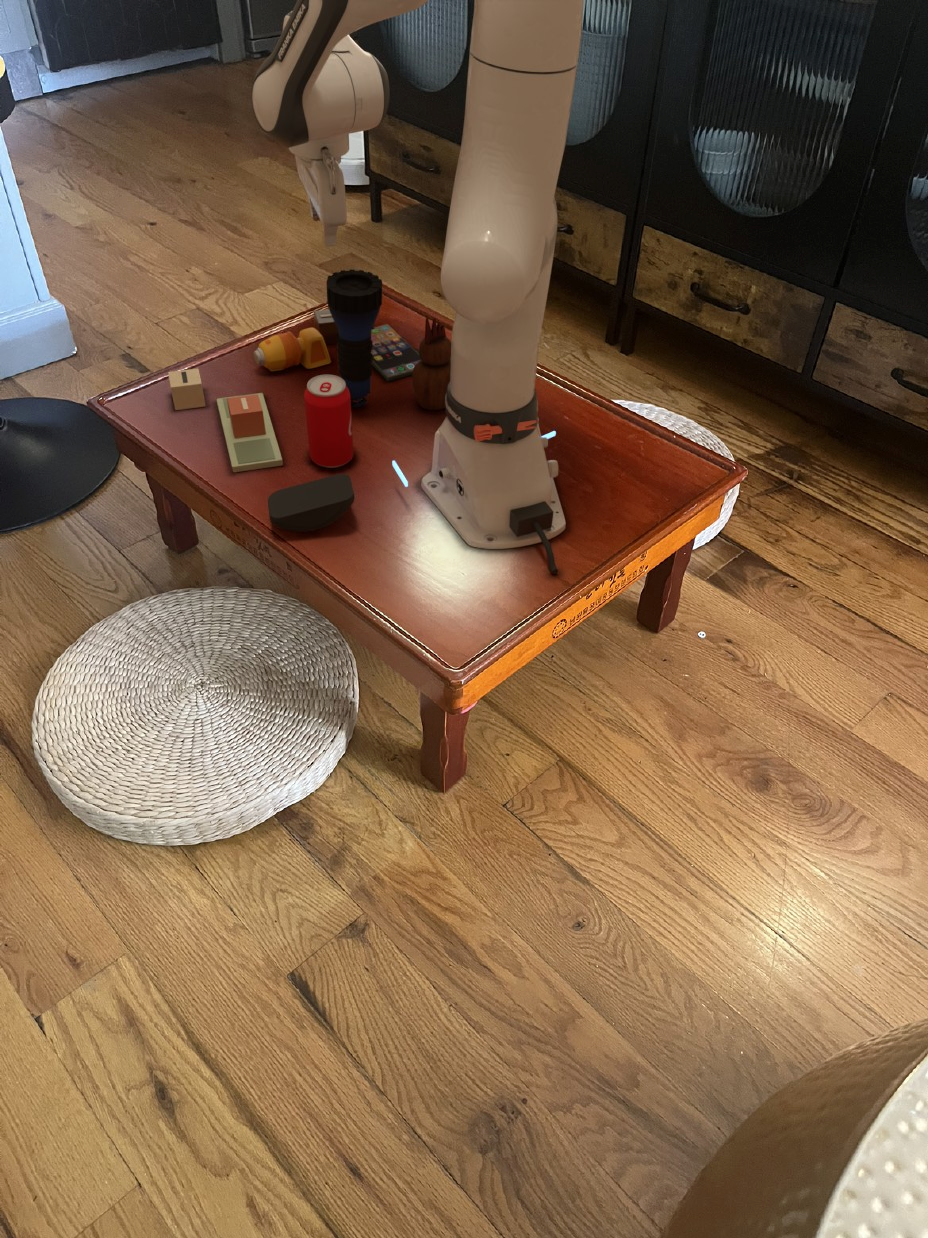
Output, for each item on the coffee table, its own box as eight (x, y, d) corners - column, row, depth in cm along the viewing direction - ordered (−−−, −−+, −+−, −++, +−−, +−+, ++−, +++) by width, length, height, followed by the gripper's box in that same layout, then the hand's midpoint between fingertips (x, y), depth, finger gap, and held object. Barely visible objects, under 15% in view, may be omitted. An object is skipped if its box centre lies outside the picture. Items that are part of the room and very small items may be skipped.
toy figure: (264, 381, 148) (333, 363, 152) (259, 350, 144) (331, 331, 148) (251, 365, 151) (319, 348, 155) (246, 334, 147) (316, 317, 151)
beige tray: (283, 465, 132) (279, 434, 129) (233, 472, 130) (227, 441, 127) (263, 398, 144) (259, 368, 140) (217, 404, 142) (212, 374, 139)
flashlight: (395, 409, 143) (393, 284, 129) (353, 426, 140) (346, 300, 125) (365, 386, 148) (360, 263, 133) (323, 403, 144) (313, 278, 130)
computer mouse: (268, 521, 118) (278, 545, 121) (354, 497, 119) (362, 522, 121) (265, 493, 123) (275, 517, 126) (348, 471, 123) (356, 495, 126)
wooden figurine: (421, 418, 142) (422, 327, 131) (407, 399, 146) (406, 308, 135) (461, 409, 144) (465, 319, 133) (447, 391, 148) (449, 301, 137)
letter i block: (205, 406, 142) (201, 382, 139) (175, 410, 141) (170, 386, 138) (202, 391, 145) (198, 367, 142) (172, 394, 144) (167, 370, 141)
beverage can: (357, 447, 136) (353, 374, 127) (349, 472, 131) (345, 398, 123) (314, 443, 136) (308, 370, 128) (305, 468, 132) (298, 394, 123)
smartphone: (387, 381, 149) (387, 374, 148) (345, 339, 158) (345, 333, 157) (431, 369, 152) (431, 362, 151) (388, 329, 161) (388, 322, 160)
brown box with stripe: (346, 342, 157) (345, 319, 154) (320, 345, 156) (318, 322, 153) (341, 329, 160) (340, 307, 157) (315, 332, 159) (313, 309, 156)
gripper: (355, 161, 129) (358, 258, 139) (325, 112, 143) (330, 204, 153) (310, 164, 128) (316, 262, 138) (284, 114, 141) (291, 206, 151)
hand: (323, 231), depth 145 cm, fingers open, 8 cm apart
